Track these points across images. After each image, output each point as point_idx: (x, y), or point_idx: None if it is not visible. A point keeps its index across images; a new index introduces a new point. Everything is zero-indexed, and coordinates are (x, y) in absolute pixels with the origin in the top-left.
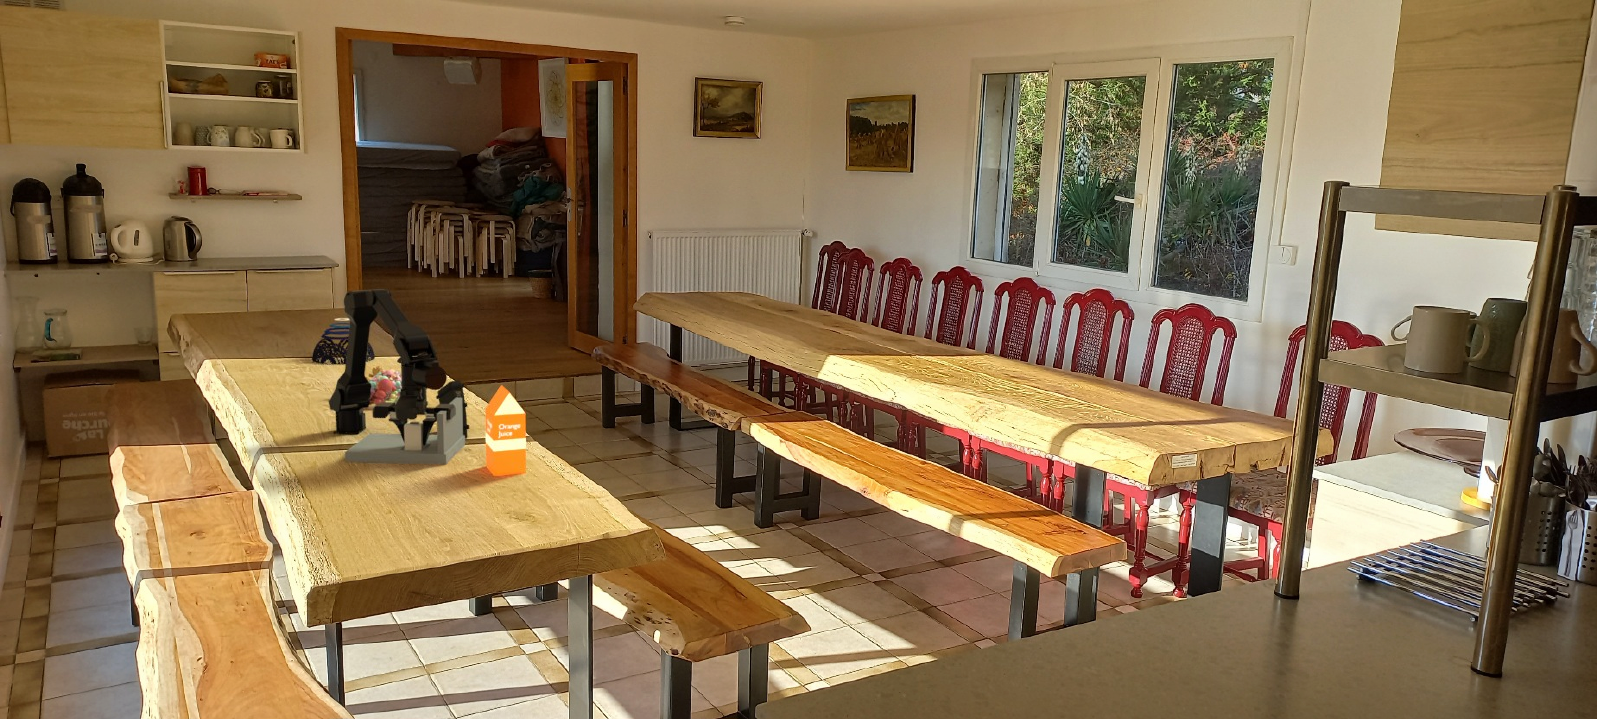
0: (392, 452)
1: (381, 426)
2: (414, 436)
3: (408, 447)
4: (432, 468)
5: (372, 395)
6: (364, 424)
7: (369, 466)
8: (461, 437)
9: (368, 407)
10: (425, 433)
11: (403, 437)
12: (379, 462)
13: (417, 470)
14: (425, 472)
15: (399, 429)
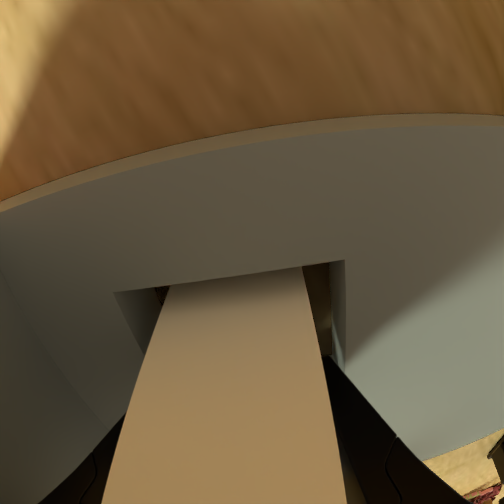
0: (378, 152)
1: (454, 474)
2: (198, 414)
3: (272, 311)
4: (3, 95)
5: None
6: (497, 459)
7: (453, 17)
8: None
9: (467, 496)
10: (107, 453)
11: (352, 402)
12: (436, 113)
13: (59, 9)
14: (7, 7)
15: (414, 468)
